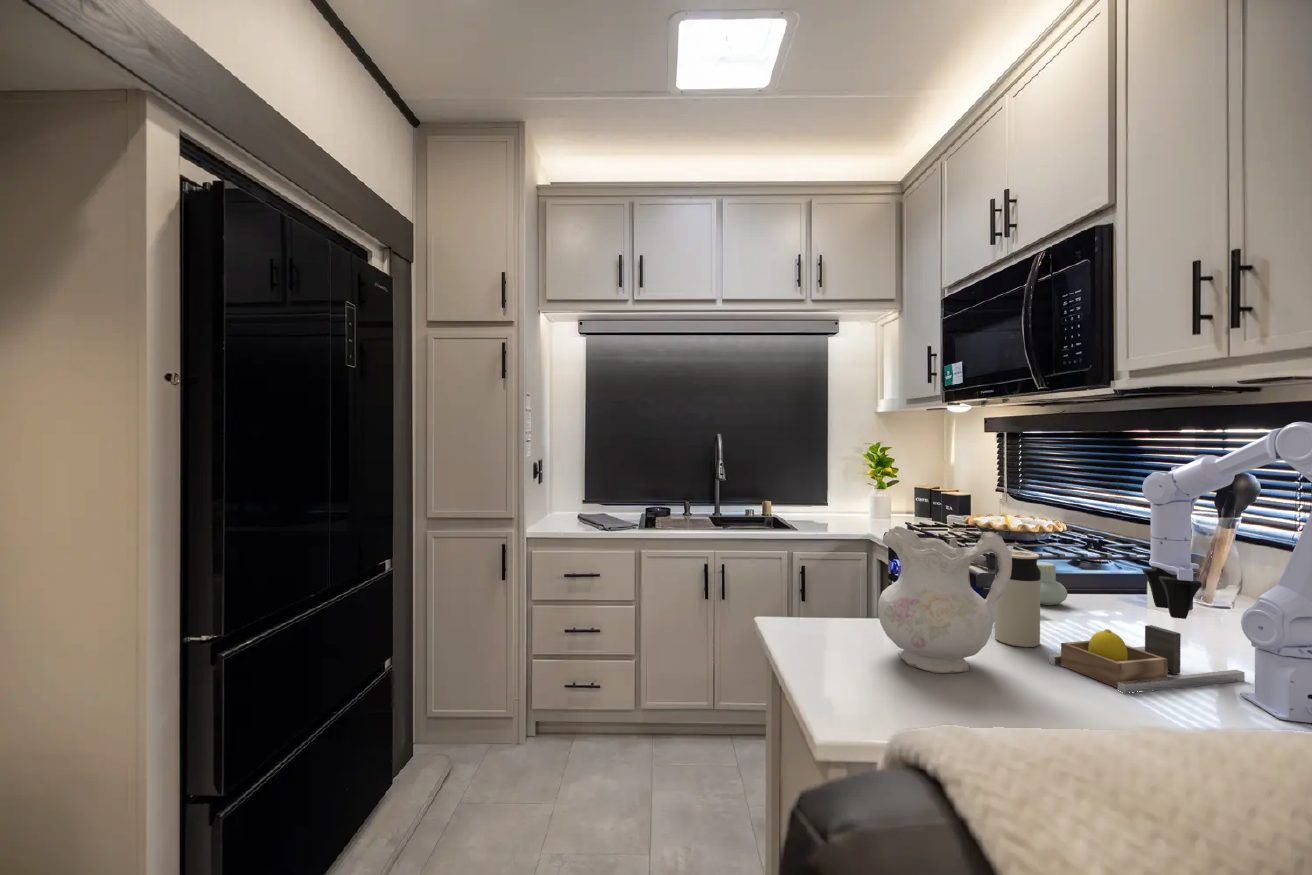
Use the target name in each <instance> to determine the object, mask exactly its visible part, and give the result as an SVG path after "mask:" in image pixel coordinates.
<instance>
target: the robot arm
mask: <svg viewBox="0 0 1312 875" xmlns="http://www.w3.org/2000/svg"><path fill="white" fill-rule="evenodd" d="M1193 459H1194V460H1193V461H1191V462H1189V463H1186V464H1184V465H1182V466H1181V465H1176V466H1173V467H1171V470H1169V471H1168V472H1167V473H1164V472H1159V471H1158V472H1157V471H1156V472H1151V474H1149V475H1148V476H1147V477H1145V478H1144V480H1143V483H1142V487H1141V489H1142V494H1143V496H1144V497H1145V499H1146V500H1147V501H1148V502H1149V503H1150V557H1149V558H1150V559H1149V560H1148V564H1149V565H1150V566H1151V568H1148V567H1143V568H1142V569H1141V571H1142V573H1143V574H1144V575H1145V577H1146V580H1147V581H1148V585H1149V587H1150V592H1151V595H1152V598H1153V603H1154V606H1155V607H1156V608H1159V609H1161V608H1162V609H1168V613H1169V616H1170V617H1171V618H1172V619H1183V620H1186V619H1187V618H1188V615H1189V612H1190V608H1191V606H1192V602H1193V600H1194V598H1195V596H1196V595H1197V592H1198V591H1199V590H1200V589H1201V587H1202V586H1203V583H1202V581H1199V580H1194V570H1193V569H1196V570H1198V569H1200V565H1199V564H1197V563H1193V562H1192V514H1193V512H1194V511H1195V509H1194V508H1195V503H1197V501H1198V500H1199V498H1200V497H1201V496H1204V495H1206V494H1209V493H1212V492H1215V491H1217V490H1220V489H1223V488H1226V487H1227V486H1230V485H1231V484H1233V482H1234V480H1235V476H1236V475H1239V474H1242V473H1246V472H1248V471H1251V470H1255V469H1257V468H1260V467H1263V466H1266V465H1270V464H1272V463H1276V462H1278V461H1282V460H1283V461H1284V462H1285V463H1286V464H1288V465H1289V466H1290V467H1292V468H1293V469H1294V470H1296V471H1297V472H1298V473H1299V474H1300V475H1302V476H1303V477H1305V478H1306V480H1308V481H1309V482H1311V483H1312V422H1306V421H1297V422H1292V423H1290V424H1287V425H1285V426H1284V427H1280V428H1279V427H1278V428H1275V429H1272V430H1270V432H1269V433H1268V434H1266V435H1264V436H1262V437H1260V438H1259V439H1258V438H1257V440H1254V441H1251V442H1250V443H1248V444H1246V445H1244V446H1241V447H1239V448H1238V449H1236V450H1234V451H1231V452H1229V453H1228V454H1225V455H1223V456H1217V455H1214V454H1199V455H1196V456H1193ZM1281 574H1282V575H1281V576H1280V579H1279V581H1278V583H1277V585H1276V586H1273V587H1272V588H1270V589H1269V590H1267V591H1266V592H1263V593H1262V594H1260V595H1259V596H1258V597H1257V600H1256V602H1255V603H1254V605H1252V606H1251V607H1249V608H1248V609H1246V610H1245V611H1244V612H1243V613H1242V615H1241V620H1240V625H1241V629H1242V632H1243V634H1244V635H1245V637H1246V639H1248V641H1249V642H1250V643H1251V647H1252V648H1253V647H1254V692H1245V691H1241V692H1240V694H1239V695H1240V696H1242V697H1243V698H1245V699H1246V700H1248V701H1249V702H1251V703H1252V704H1254V705H1256V706H1258V707H1259V708H1261V709H1262V710H1264V711H1265V712H1267V713H1268V714H1271V715H1272V716H1274V717H1275V718H1276V719H1279V720H1283V721H1291V722H1300V723H1307V724H1308V723H1309V724H1312V510H1311V511H1310V514H1309V516H1308V518H1307V520H1306V522H1305V524H1304V526H1303V529H1302V531H1301V533H1300V535H1299V538H1298V539H1297V541H1296V544H1295V547H1294V548H1293V551H1292V553H1291V555H1290V557H1289V559H1288V561H1287V564H1286V566H1285V567H1284V570H1283V572H1282V573H1281Z"/></svg>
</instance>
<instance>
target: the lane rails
mask: <svg viewBox="0 0 1312 875" xmlns="http://www.w3.org/2000/svg"><path fill="white" fill-rule="evenodd" d="M1133 648H1136V649H1139V650H1142V651H1145V645H1144V646H1136V647H1133ZM1048 659H1049V660H1048V661H1049V662H1048V663H1049V664H1051V665H1053V666H1062V665H1061V653H1056V654H1055V653H1054V654H1049V656H1048ZM1245 676H1246V675H1245V671H1242V670H1239V669H1230V670H1221V671H1211V672H1210V671H1209V672H1201V673H1191V674H1182V675H1181V674H1178V675H1173V676H1171V675H1170V676H1167V677H1160V678H1151V679H1141V680H1131V681H1122V682H1118V688H1117V691H1118V690H1119V691H1121V692H1123V693H1122V694H1124V693H1129V692H1130V694H1133V693H1132V692H1137V691H1138V692H1139V691H1148V692H1153V691H1152V690H1157V691H1164V690H1166V691H1167V690H1171V689H1172V690H1174V689H1183V688H1191V687H1201V686H1211V685H1219V684H1220V685H1221V684H1228V683H1237V682H1245ZM1119 691H1118V692H1119ZM1121 692H1120V693H1121ZM1139 693H1140V692H1139Z"/></svg>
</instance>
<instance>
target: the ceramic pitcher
mask: <svg viewBox="0 0 1312 875" xmlns="http://www.w3.org/2000/svg"><path fill="white" fill-rule="evenodd" d="M978 535H980V538H979V539H978V541H977V542H976V544H975V546H973V547H972V548H971V547H967V546H964V547H963V546H962V547H958V548H953V547H951V546H950V545H949V543H947V542H945V540H942V539H940V538H929V537H928V538H927V537H926V538H922V539H921V538H920V537H919V536H918V534H917V533H916V532H915V531H914V530H912V529H907V528H904V527H903V526H894V527H893V528H889V529H888V531H887V532H885V534H884V536H883V538H882V543H883V545H885V546H886V547H889V548H891V550H893V551H894V553H896V555H897V557H898V558H897V559H898V560H899V562H900V574H899V576H898V579H897V580H896V581H894V583H893V582H892V583H891V584H890V585H888V586H887V587H886V588H885V589H884V590H882V592H881V594H880V596H879V600H878V605H877V608H878V609H877V610H878V611H877V612H878V619H879V623H880V625H881V627H882V630H883V632H884V633H885V635H886V637H888V639H889V640H891V641H892V642H893V644H895V645H896V647H897V648H899V649H901V650H898V651H897V654H898V655H899V657H900V658H901V659H902V660H903V661H904V662H905V664H907V665H908V666H910V667H913V668H917V669H919V670H924V671H926V672H930V673H933V674H947V673H948V674H950V673H951V674H953V673H962V672H970V665H969V663H968V662H967V661H966V660H965V658H969V657H973V656H976V654H978V653H979V652H980V651H981V650H982V649H983V648H984V647H985V646H986V645H987V643H988V642H989V639H990V637H991V634H992V630H993V625H994V624H995V620H996V603H997V601H998V599H999V598H1000V597H1001V596H1002V595H1003V592H1004V590H1005V588H1006V586H1007V584H1008V581H1009V579H1010V577H1011V571H1012V556H1011V553H1010V551H1009V550H1010V549H1009V547H1008V546H1007V545H1006V543H1005V541H1004V539H1003V537H1002V535H999V532H998V531H996V532H995V531H993V530H992V531H982V532H978ZM989 553H993V554H994V555H996V557H997V563H998V566H999V571H998V573H997V575H996V577H995V576H994V579H993V581H992V583H991V585H990V588H989V592H988V594H987V595H986V598H983V597H982V596H981V595H980V594H979V593H977V592H976V591H975V590H974V589H973V587H972V586H970V585H971V583H970V584H969V581H968V575H970V566H971V563H972V562H973V561H974V560H977V559H978V558H979V557H980V556H982V555H985V554H989Z"/></svg>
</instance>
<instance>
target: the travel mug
mask: <svg viewBox="0 0 1312 875" xmlns="http://www.w3.org/2000/svg"><path fill="white" fill-rule="evenodd" d="M1009 551H1010V553H1011V556H1012V571H1011V577H1010V579H1009V581H1008V584H1007V586H1006V588H1005V590H1004V592H1003V595H1002V596H1001V597H1000V598H999V599H998V601H997V603H996V620H995V622H994V638H995V640H997V641H998V642H1000V643H1003V644H1005V645H1008V646H1012V647H1018V648H1035V647H1038V646H1039V645H1040V644H1041V605H1040V584H1041V580H1040V579H1041V571H1040V570H1039V568H1038V566H1037V561H1038V559H1039V558H1040V555H1039V554H1038V553H1035V552H1030V551H1024V550H1015V549H1014V550H1013V549H1009ZM998 571H999V566H998V562H997V564H996V565H995V568H994V574H995V575H994V578H995V577H996V575H997V573H998Z"/></svg>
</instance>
